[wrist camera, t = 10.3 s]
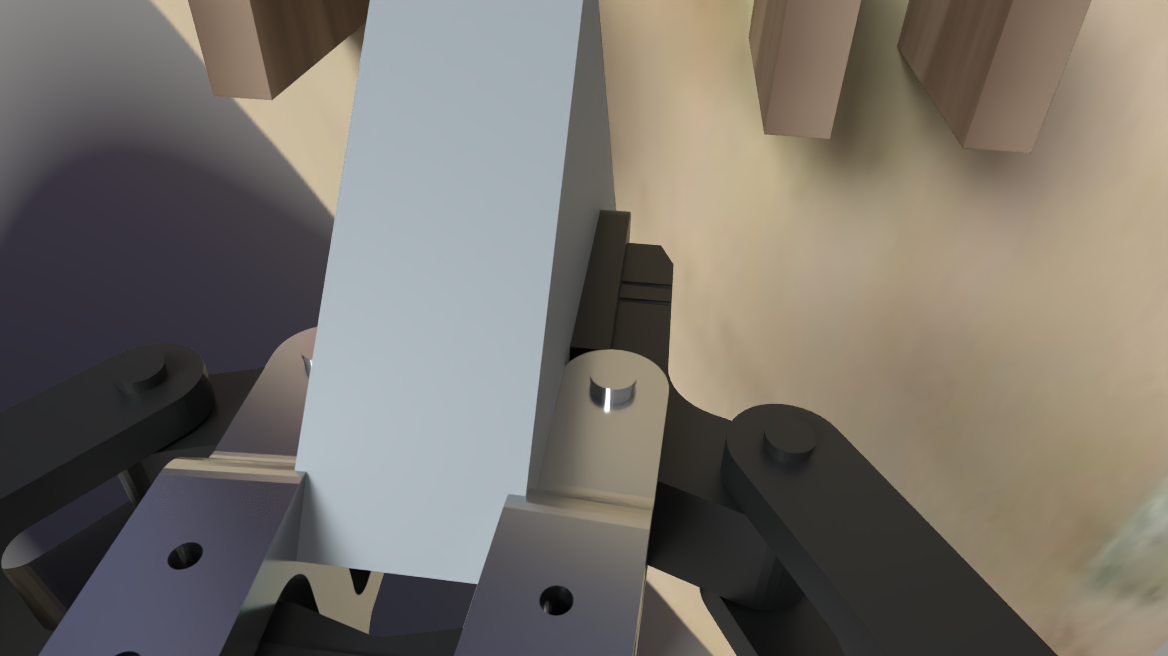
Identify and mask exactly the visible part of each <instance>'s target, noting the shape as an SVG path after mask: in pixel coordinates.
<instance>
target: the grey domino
mask: <svg viewBox="0 0 1168 656" xmlns="http://www.w3.org/2000/svg"><path fill="white" fill-rule="evenodd" d="M600 210H612V211H616V203H615V191H614V180H613V168H612V156H611V144H610V133H609V121H608V109H607V97H606V85H605V74H604V62H603V50H602V38H601V27H600V15H599V3H598V0H370V2H369V9H368V15H367V21H366V27H365V34H364V40H363V46H362V52H361V59H360V65H359V71H358V77H357V84H356V90H355V96H354V102H353V109H352V115H351V121H350V127H349V134H348V140H347V146H346V152H345V159H344V165H343V171H342V177H341V183H340V190H339V196H338V202H337V208H336V215H335V221H334V227H333V234H332V240H331V246H330V253H329V258H328V265H327V271H326V277H325V283H324V290H323V296H322V302H321V309H320V315H319V321H318V327H317V333H316V340H315V346H314V352H313V358H312V365H311V371H310V377H309V383H308V390H307V396H306V402H305V408H304V414H303V421H302V427H301V433H300V439H299V446H298V452H297V458H296V464H295V471H305V472H306V481H305V489H304V498H303V507H302V516H301V524H300V533H299V542H298V550H297V559H296V561H297V562H305V563H313V564H321V565H329V566H337V567H345V568H353V569H361V570H369V571H377V572H385V573H394V574H402V575H410V576H419V577H426V578H434V579H442V580H450V581H458V582H466V583H474V584H478V582H479V579H480V576H481V573H482V569H483V566H484V563H485V560H486V557H487V554H488V551H489V548H490V545H491V542H492V539H493V536H494V533H495V530H496V527H497V524H498V521H499V518H500V515H501V512H502V509H503V506H504V503H505V501H506V498H507V496H508V494H514V495H522V496H526V494H527V492H528V490H529V489H530V488H532V489H536V488H537V484H538V480H539V475H540V471H541V466H542V462H543V458H544V453H545V449H546V444H547V440H548V435H549V431H550V426H551V422H552V418H553V413H554V409H555V404H556V400H557V395H558V391H559V386H560V382H561V377H562V373H563V369H564V366H565V365H566V364H568V363H569V362H570V344H571V339H572V335H573V330H574V326H575V321H576V317H577V312H578V308H579V303H580V299H581V294H582V290H583V285H584V281H585V276H586V272H587V267H588V263H589V258H590V254H591V249H592V245H593V240H594V236H595V231H596V227H597V222H598V218H599V213H600Z"/></svg>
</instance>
